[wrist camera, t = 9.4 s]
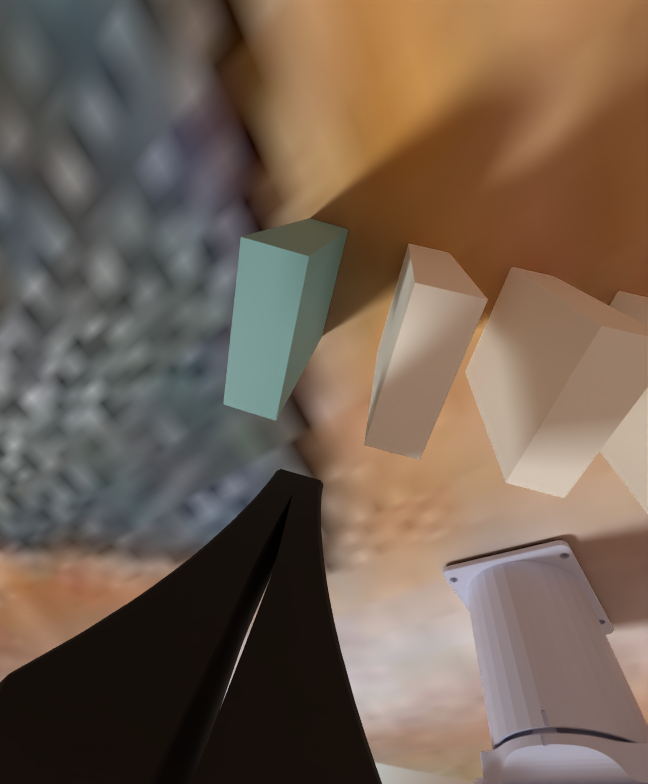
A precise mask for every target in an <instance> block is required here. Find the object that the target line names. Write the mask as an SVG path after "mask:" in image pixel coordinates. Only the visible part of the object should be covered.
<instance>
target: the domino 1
mask: <svg viewBox="0 0 648 784" xmlns="http://www.w3.org/2000/svg"><path fill="white" fill-rule="evenodd" d="M348 230H349V229H346V228H343V227H339V226H335V225H332V224H328V223H325V222H321V221H318V220H314V219H311V218H309V219H305V220H302V221H298V222H294V223H291V224H287V225H283V226H280V227H276V228H272V229H268V230H265V231H261V232H257V233H254V234H250V235H246V236H243V237H241V243H240V252H239V262H238V271H237V281H236V290H235V300H234V309H233V319H232V328H231V338H230V347H229V357H228V366H227V376H226V385H225V395H224V405H227V406H230V407H234V408H237V409H240V410H243V411H247V412H250V413H253V414H256V415H260V416H263V417H266V418H269V419H273V420H277V418H278V416H279V414H280V412H281V410H282V409H283V407H284V405H285V403H286V401H287V399H288V398H289V396H290V394H291V392H292V390H293V389H294V387H295V385H296V383H297V381H298V379H299V378H300V376H301V374H302V372H303V370H304V368H305V367H306V365H307V363H308V361H309V359H310V357H311V356H312V354H313V352H314V350H315V348H316V346H317V345H318V343H319V341H320V339H321V337H322V335H323V331H324V327H325V323H326V319H327V315H328V311H329V307H330V302H331V298H332V294H333V290H334V286H335V282H336V278H337V274H338V270H339V266H340V262H341V258H342V254H343V250H344V246H345V242H346V238H347V234H348Z"/></svg>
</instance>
